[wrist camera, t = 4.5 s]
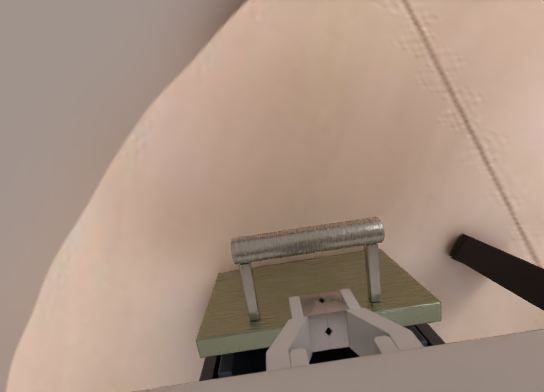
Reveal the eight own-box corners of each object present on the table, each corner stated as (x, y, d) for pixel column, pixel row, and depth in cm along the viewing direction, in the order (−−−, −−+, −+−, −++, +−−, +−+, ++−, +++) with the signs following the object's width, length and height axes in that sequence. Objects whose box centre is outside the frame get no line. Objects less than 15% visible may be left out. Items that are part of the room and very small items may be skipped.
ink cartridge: (446, 254, 22) (547, 315, 14) (459, 231, 22) (571, 280, 14) (492, 274, 23) (614, 343, 15) (506, 252, 22) (639, 310, 14)
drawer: (206, 215, 20) (174, 255, 13) (376, 189, 20) (441, 215, 13) (243, 396, 23) (235, 508, 16) (387, 374, 23) (443, 475, 16)
